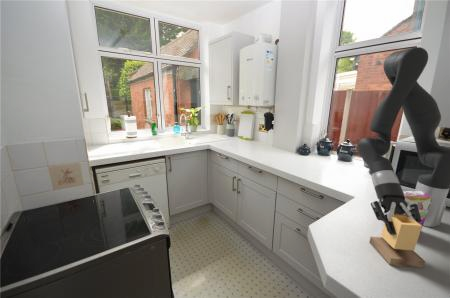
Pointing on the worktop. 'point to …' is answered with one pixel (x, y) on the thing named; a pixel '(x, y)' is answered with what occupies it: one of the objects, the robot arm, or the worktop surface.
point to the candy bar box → (418, 202)
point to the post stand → (396, 254)
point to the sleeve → (403, 232)
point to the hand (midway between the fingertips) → (404, 235)
